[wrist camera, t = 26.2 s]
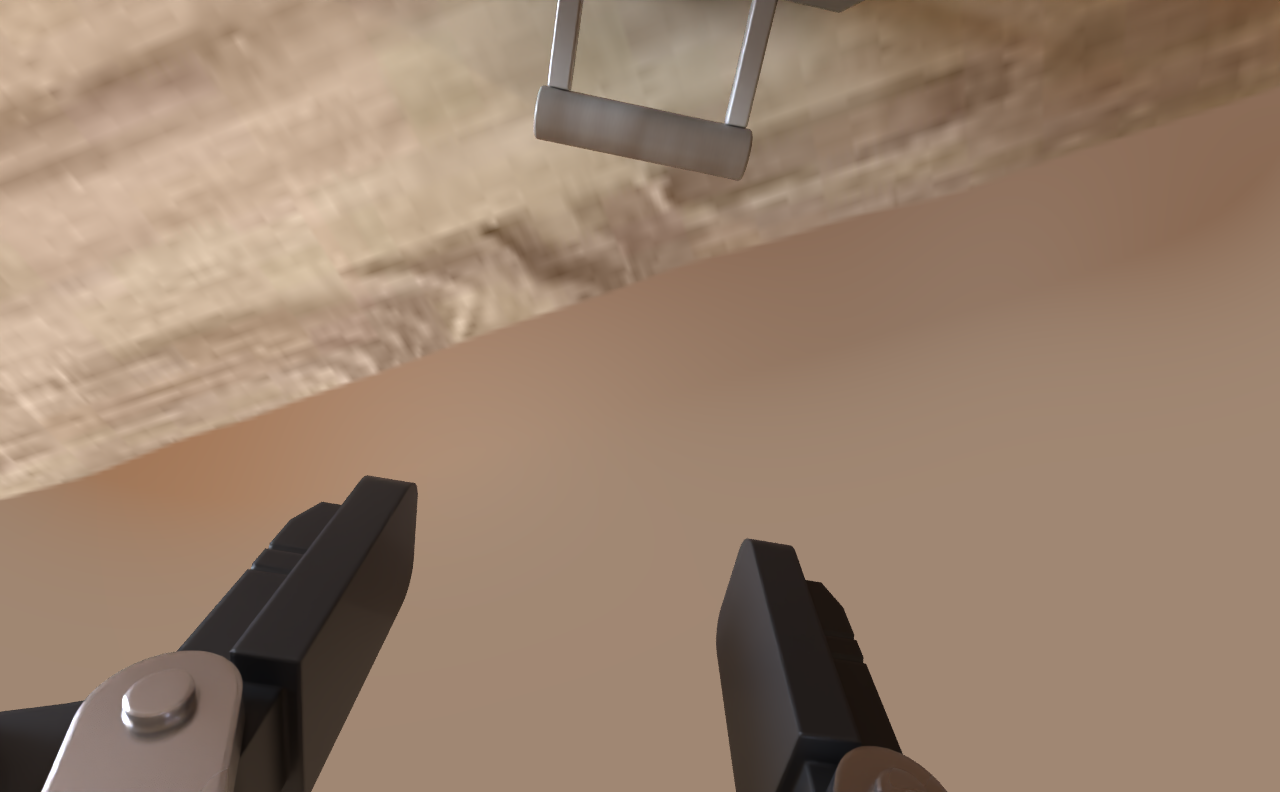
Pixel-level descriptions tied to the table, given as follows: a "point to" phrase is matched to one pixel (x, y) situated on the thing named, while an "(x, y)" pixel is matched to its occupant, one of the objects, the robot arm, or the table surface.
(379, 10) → the table surface
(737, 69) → the drawer
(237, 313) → the table surface
